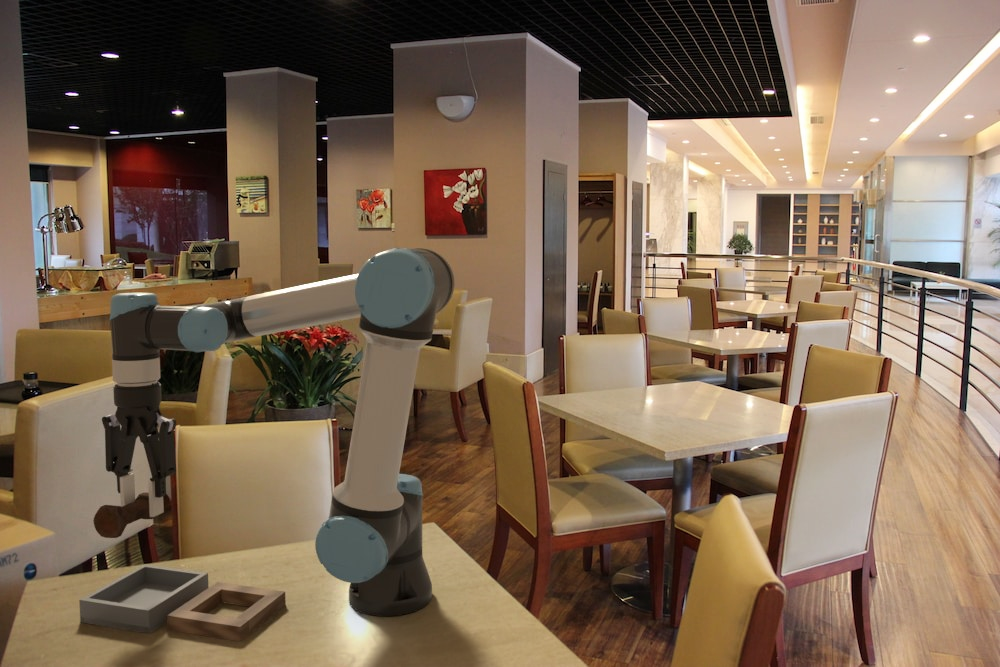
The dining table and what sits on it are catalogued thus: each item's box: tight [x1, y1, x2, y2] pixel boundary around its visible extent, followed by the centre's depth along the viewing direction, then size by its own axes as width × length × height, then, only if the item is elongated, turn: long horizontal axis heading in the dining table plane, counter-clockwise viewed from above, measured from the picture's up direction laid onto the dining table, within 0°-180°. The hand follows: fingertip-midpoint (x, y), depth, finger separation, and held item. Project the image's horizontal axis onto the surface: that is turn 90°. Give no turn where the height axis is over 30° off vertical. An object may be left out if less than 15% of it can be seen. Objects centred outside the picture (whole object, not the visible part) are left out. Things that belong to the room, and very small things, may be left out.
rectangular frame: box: [166, 581, 287, 642], centre depth 141 cm, size 14×14×2 cm
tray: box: [78, 563, 210, 634], centre depth 144 cm, size 14×16×4 cm
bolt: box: [93, 492, 171, 539], centre depth 141 cm, size 6×5×15 cm
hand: (142, 512), depth 143 cm, fingers closed on bolt, 5 cm apart
